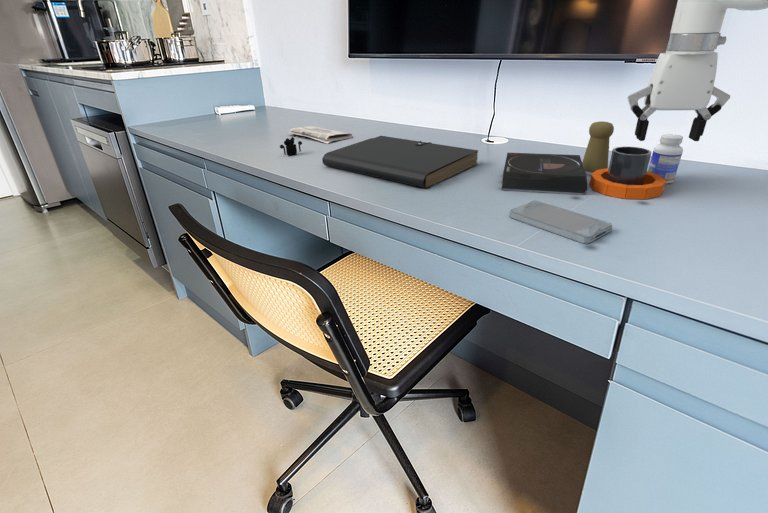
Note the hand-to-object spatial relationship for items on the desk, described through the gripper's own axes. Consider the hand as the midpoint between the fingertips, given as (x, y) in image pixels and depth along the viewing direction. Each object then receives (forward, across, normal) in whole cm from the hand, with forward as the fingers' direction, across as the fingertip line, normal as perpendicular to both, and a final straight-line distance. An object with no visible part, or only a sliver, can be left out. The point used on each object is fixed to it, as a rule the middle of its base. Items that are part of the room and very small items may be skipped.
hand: (666, 139), depth 87 cm
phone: (+10, +22, +21) cm, 32 cm away
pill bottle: (+10, -3, -6) cm, 12 cm away
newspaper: (+10, +91, -47) cm, 103 cm away
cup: (+10, +6, 0) cm, 12 cm away
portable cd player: (+10, +22, -4) cm, 25 cm away
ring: (+10, +6, 0) cm, 12 cm away
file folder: (+10, +57, -13) cm, 59 cm away
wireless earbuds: (+10, +91, -23) cm, 94 cm away
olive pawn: (+10, +9, -14) cm, 20 cm away
